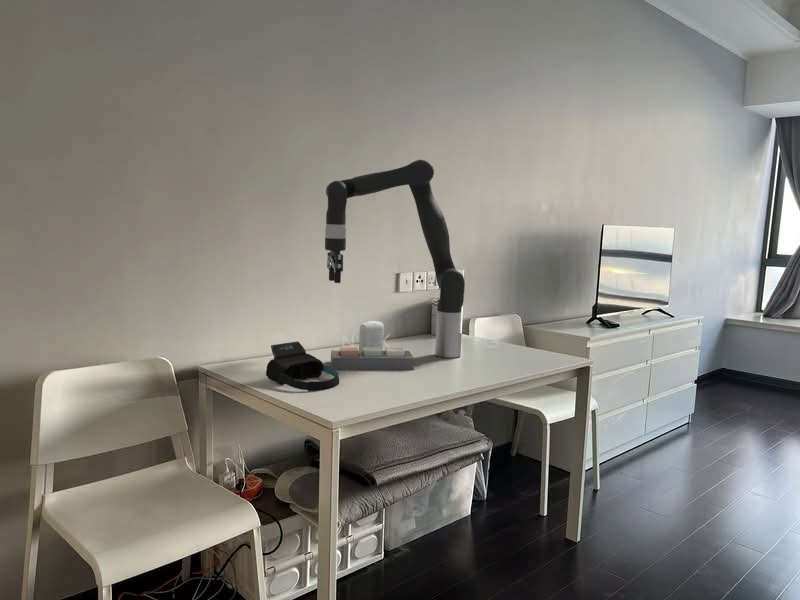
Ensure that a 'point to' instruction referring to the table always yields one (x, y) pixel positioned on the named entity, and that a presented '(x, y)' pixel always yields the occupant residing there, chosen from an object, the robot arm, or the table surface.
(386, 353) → the cream key
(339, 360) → the panel
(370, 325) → the photo printer
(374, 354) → the sage key
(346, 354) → the terracotta key
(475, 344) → the table surface
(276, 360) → the virtual reality headset
